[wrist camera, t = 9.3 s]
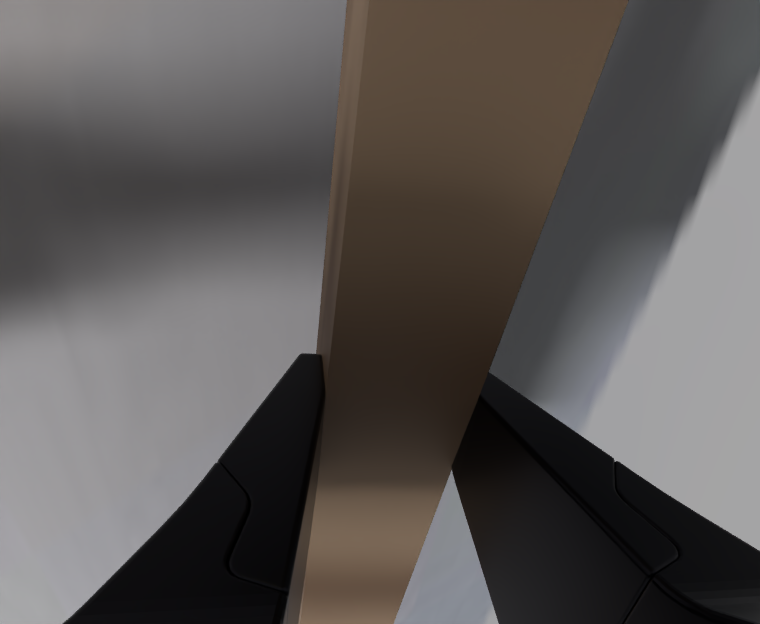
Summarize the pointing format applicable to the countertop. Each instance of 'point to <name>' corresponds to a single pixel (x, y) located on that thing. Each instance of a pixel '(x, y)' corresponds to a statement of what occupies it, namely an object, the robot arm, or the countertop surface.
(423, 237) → the bar
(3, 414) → the countertop surface
